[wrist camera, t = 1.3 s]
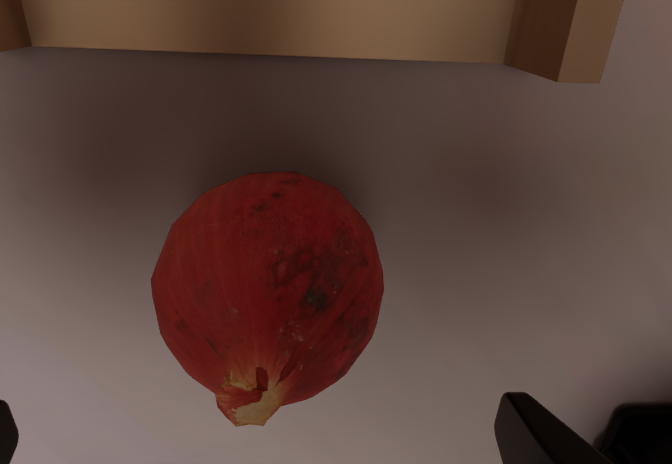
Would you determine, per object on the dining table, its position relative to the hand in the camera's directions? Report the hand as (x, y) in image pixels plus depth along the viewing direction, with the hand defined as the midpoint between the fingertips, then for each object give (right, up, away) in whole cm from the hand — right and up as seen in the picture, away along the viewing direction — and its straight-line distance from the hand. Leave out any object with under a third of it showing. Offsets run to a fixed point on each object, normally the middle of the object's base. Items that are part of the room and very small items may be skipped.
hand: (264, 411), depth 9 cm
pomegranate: (-1, +4, +7) cm, 8 cm away
